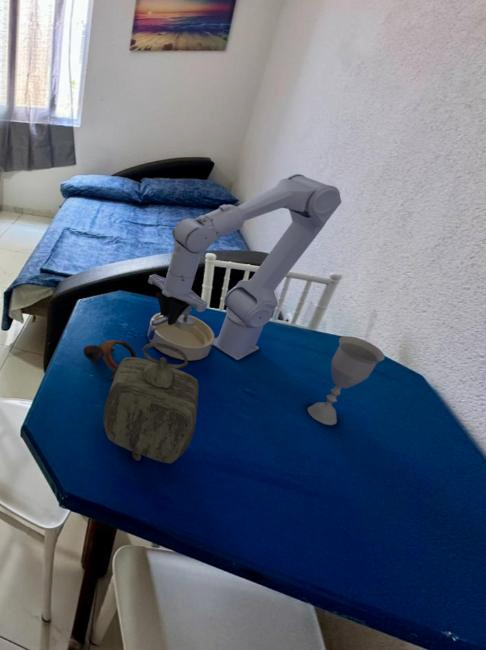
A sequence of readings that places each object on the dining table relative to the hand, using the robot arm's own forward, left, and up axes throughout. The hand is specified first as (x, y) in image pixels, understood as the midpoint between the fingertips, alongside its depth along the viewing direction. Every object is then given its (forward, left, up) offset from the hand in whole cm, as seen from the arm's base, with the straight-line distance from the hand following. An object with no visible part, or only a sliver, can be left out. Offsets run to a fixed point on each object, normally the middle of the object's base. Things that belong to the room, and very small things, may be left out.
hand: (167, 321), depth 98 cm
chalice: (-14, +31, -10) cm, 35 cm away
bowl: (-7, 0, -9) cm, 12 cm away
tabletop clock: (+27, +18, -10) cm, 34 cm away
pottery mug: (+16, -2, -10) cm, 19 cm away
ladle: (-2, 0, -4) cm, 4 cm away
